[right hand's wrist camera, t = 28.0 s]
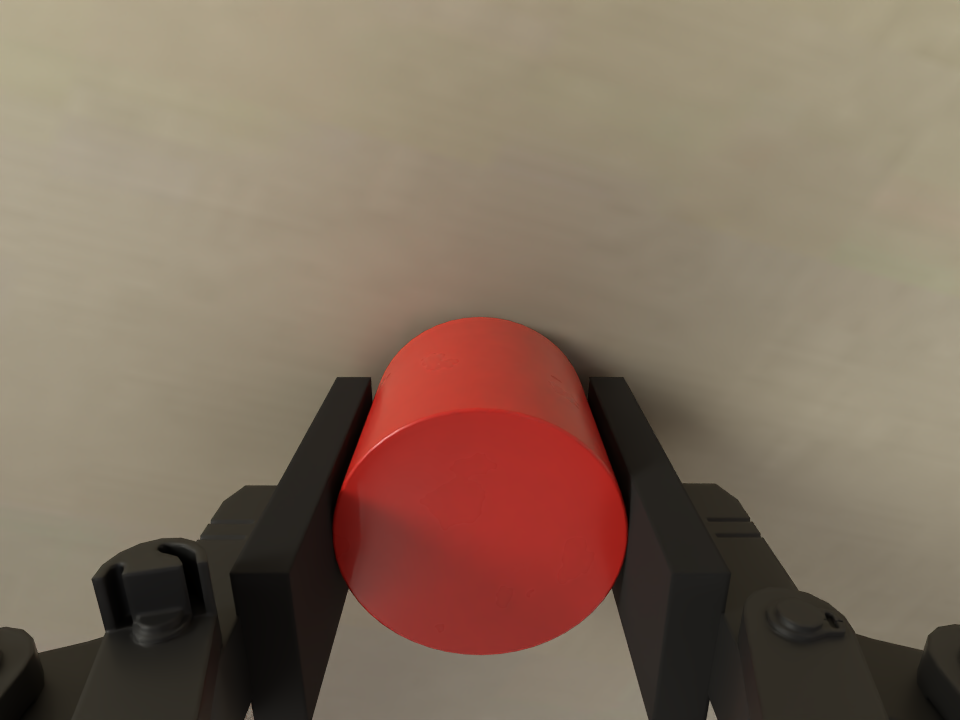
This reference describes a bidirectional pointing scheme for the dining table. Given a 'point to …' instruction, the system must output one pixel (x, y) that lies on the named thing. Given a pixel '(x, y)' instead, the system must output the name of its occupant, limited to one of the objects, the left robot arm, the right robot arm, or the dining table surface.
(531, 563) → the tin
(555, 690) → the dining table surface
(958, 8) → the dining table surface
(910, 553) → the dining table surface
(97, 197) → the dining table surface
